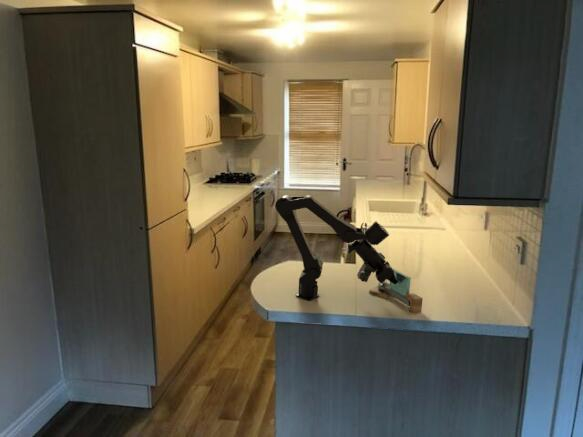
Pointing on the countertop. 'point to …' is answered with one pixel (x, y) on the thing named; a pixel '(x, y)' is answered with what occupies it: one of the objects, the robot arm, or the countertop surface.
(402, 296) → the link
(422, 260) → the countertop surface
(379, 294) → the pintle block
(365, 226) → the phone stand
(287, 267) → the countertop surface
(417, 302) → the block
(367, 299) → the countertop surface
